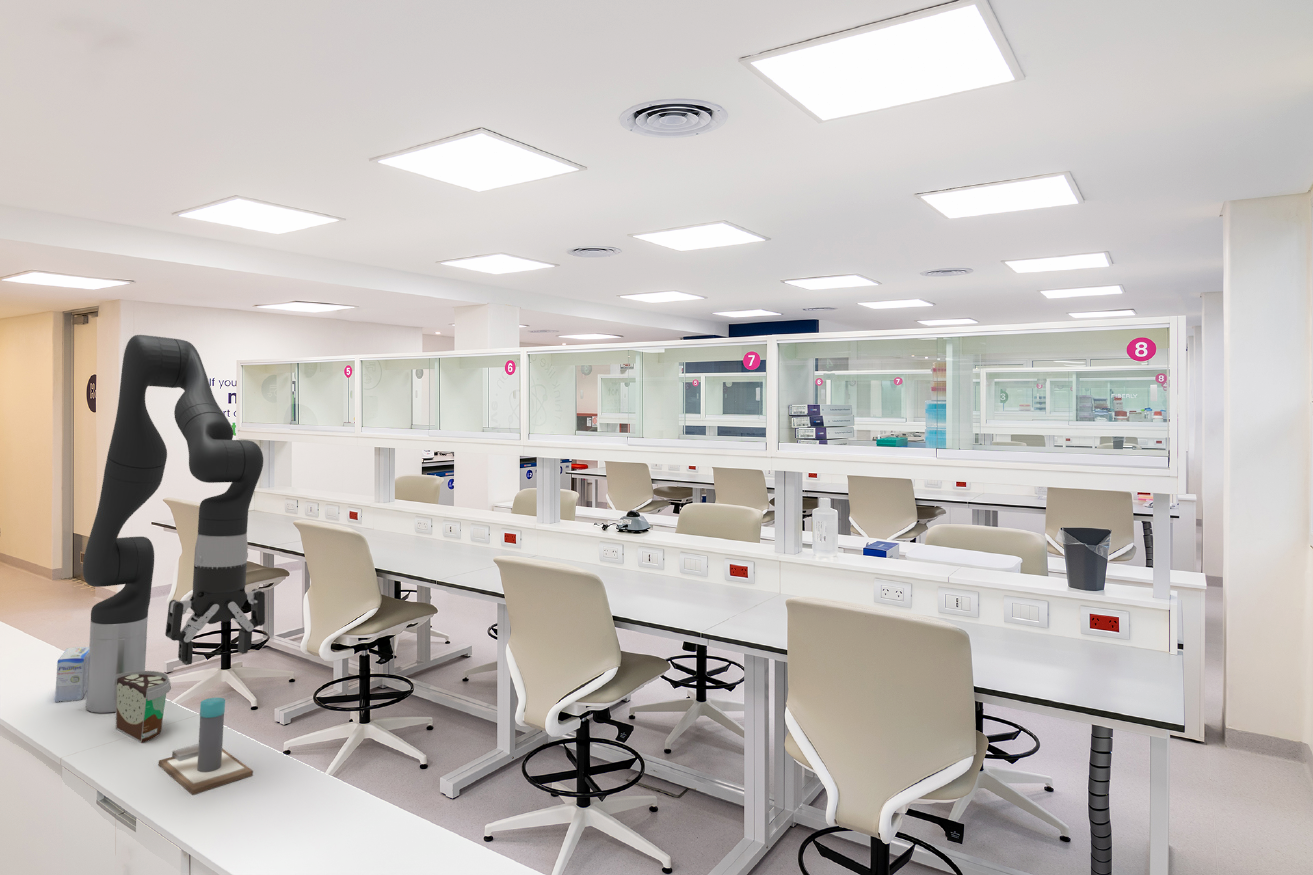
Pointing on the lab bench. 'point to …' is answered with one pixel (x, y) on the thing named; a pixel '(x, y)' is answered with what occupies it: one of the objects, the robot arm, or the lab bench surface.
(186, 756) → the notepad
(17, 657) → the lab bench surface
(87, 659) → the medicine box
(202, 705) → the marker
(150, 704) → the food container
